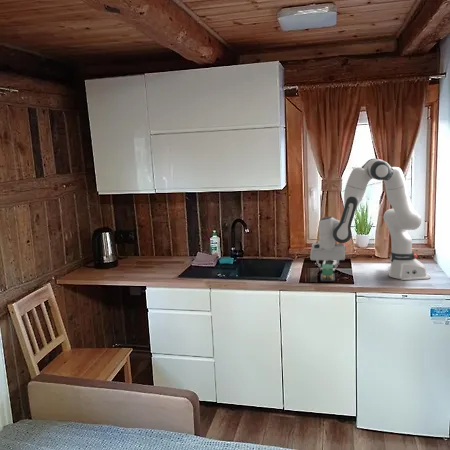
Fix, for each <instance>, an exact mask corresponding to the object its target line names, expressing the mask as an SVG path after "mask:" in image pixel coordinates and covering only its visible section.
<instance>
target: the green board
mask: <svg viewBox="0 0 450 450" xmlns="http://www.w3.org/2000/svg"><path fill="white" fill-rule="evenodd" d="M321 266H322V275H333V264H323V263H322V264H321Z"/></svg>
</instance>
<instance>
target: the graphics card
mask: <svg viewBox="0 0 450 450" xmlns="http://www.w3.org/2000/svg"><path fill="white" fill-rule="evenodd" d="M321 262H322V264H333V273H334V274H335V271H336V268H337V267H335V264H336V263H337V260H321ZM319 273H320V274H321V273H322V265H321V267H320V268H319Z"/></svg>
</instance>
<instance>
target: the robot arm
mask: <svg viewBox="0 0 450 450" xmlns="http://www.w3.org/2000/svg"><path fill="white" fill-rule="evenodd" d="M372 179H373V180H377V181H383V183H384V189H385V193H386V198H387V202H388V203H389V205H391V207H392V208H389V209H387V210H386V211H384V213H383V222H384V223H385V224H386V226H387V228H388V231H389V235H390V240H391V242H390V243H391V246H390V247H391V251H390V269H389V272H388V276H389V277H391V278H392V279H393V278H394V279H399V280H401V281H413V280H429V279H431V274H430V273H429V272H428V271H427V269H426V266H425V265H424V263H422V262H421V261H420V260H418V259H417V258H418V255H417V253H416V252H413V239H412V236H411V235H410V234H409V232H408V231H416V230H417V229H419V228H420V226H421V224H422V217H421V215H420V214H419V213H418V212H417V211H416V210H415V208H414V206H413V204H412V202H411V200H410V197H409V192H408V188H407V183H406V178H405V175H404V173H403V170H402V169H401V167H398V166H391V165H390V164H389V163H388V162H387V161H386V160H383V159H379V158H371V159H369V160H367V161H366V162H365V163H364V164H362V166H361V167H355V168H353V169H352V170H351V172H350V174H349V176H348V179H347V181H346V183H345V184H346V185H345V189H344V194H343V204H344V205H343V206H344V207H343V211H342V213H341V217H340V220H339V219H337V218H335V217H333V216H325V217H322V218H321V219H320V220H319V222H318V233H319V240H318V241H315V242H313V243H312V244H311V249H310V254H309V255H310V256H309V257H310V258H309V259H310V260H311V261H316V264H317V265H318V268H319V269H320V268H321V266H322V264H321V263H319V262H320V261H322V260H337V263H336V264H335V267H336V268H338V265H339V263H340V261H345V259H346V253H345V252H346V245H345V244H346V243H348V242H349V241H350V240H351V239H352V223H353V219H354V216H355V213H356V211H357V208H358V206H359V204H360V202H361V201H362V199H363V197H364V195H365V193H366V189H367V186H368V184H369V182H370V181H371V180H372ZM336 242H337V243H336Z"/></svg>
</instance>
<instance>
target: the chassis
mask: <svg viewBox="0 0 450 450" xmlns="http://www.w3.org/2000/svg"><path fill="white" fill-rule="evenodd" d="M320 282H336V275H335V272H334V273H333V275H322V273H320Z"/></svg>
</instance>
